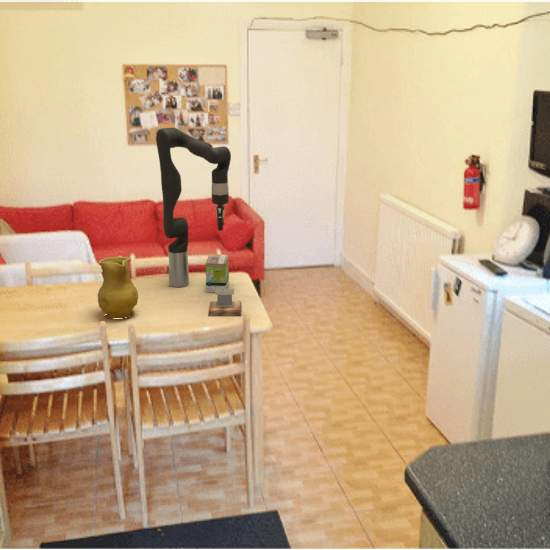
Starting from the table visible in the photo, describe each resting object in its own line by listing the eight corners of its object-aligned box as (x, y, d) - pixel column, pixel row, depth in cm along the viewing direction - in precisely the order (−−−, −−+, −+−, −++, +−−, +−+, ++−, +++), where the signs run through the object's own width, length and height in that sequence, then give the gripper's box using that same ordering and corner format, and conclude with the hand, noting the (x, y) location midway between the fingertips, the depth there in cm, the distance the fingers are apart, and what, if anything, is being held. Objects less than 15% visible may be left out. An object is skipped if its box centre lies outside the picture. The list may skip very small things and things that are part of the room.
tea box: (226, 293, 321) (226, 263, 316) (205, 292, 321) (204, 263, 317) (229, 282, 335) (228, 254, 331) (209, 282, 336) (208, 253, 331)
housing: (233, 307, 296) (233, 292, 294) (215, 307, 296) (215, 292, 294) (234, 303, 301) (234, 288, 299) (216, 303, 301) (215, 288, 298)
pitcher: (96, 322, 285) (93, 265, 279) (100, 308, 303) (98, 254, 296) (138, 321, 288) (136, 264, 281) (139, 307, 306) (138, 253, 299)
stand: (208, 316, 293) (208, 310, 292) (210, 306, 304) (210, 300, 304) (240, 315, 293) (240, 310, 293) (241, 305, 305) (241, 300, 304)
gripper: (212, 189, 307) (213, 224, 312) (210, 195, 293) (211, 232, 299) (229, 189, 307) (229, 224, 312) (227, 195, 294) (228, 232, 299)
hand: (220, 227), depth 305 cm, fingers open, 8 cm apart
